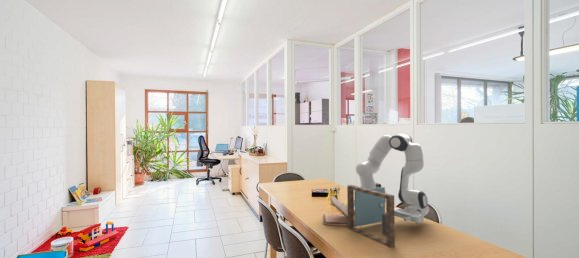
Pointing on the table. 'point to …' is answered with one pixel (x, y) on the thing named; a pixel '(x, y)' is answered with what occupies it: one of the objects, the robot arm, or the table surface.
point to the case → (337, 218)
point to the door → (369, 207)
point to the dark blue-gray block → (384, 223)
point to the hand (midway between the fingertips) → (398, 217)
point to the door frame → (389, 214)
